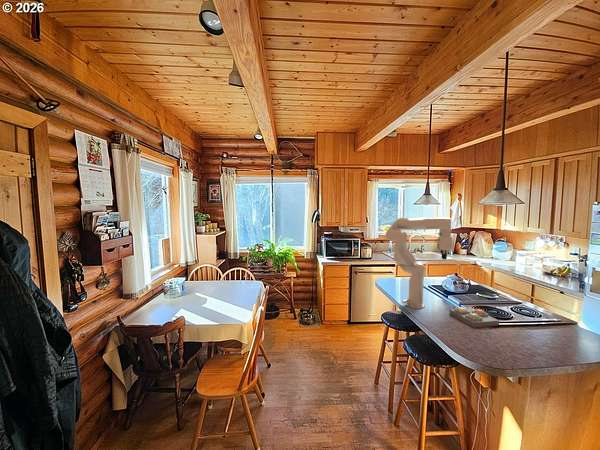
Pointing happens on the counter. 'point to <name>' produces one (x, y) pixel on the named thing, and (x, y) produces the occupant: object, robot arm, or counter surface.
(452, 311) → the button panel
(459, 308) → the cream button
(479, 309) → the terracotta button
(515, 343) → the counter surface
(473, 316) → the sage button
